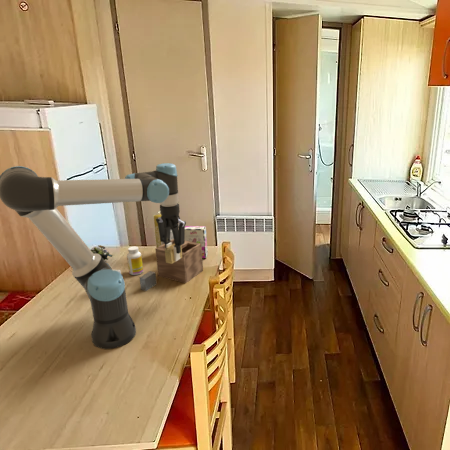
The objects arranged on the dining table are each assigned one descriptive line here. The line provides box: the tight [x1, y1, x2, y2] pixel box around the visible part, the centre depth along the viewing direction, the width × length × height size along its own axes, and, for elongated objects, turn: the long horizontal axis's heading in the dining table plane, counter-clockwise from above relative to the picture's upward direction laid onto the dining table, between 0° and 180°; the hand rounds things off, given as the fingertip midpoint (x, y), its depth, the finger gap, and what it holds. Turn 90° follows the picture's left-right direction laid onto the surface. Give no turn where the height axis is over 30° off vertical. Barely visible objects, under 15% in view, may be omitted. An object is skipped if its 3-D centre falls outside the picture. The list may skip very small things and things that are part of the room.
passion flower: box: [90, 245, 113, 261], centre depth 188 cm, size 11×11×12 cm
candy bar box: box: [185, 225, 209, 259], centre depth 190 cm, size 11×5×16 cm, turn 81°
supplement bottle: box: [126, 246, 144, 276], centre depth 176 cm, size 7×7×13 cm
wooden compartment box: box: [154, 239, 204, 284], centre depth 173 cm, size 14×16×14 cm
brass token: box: [165, 243, 182, 264], centre depth 150 cm, size 7×3×6 cm, turn 149°
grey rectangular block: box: [139, 270, 158, 292], centre depth 163 cm, size 7×3×6 cm, turn 149°
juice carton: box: [152, 210, 174, 249], centre depth 193 cm, size 9×8×24 cm
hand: (173, 259), depth 151 cm, fingers closed on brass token, 3 cm apart
